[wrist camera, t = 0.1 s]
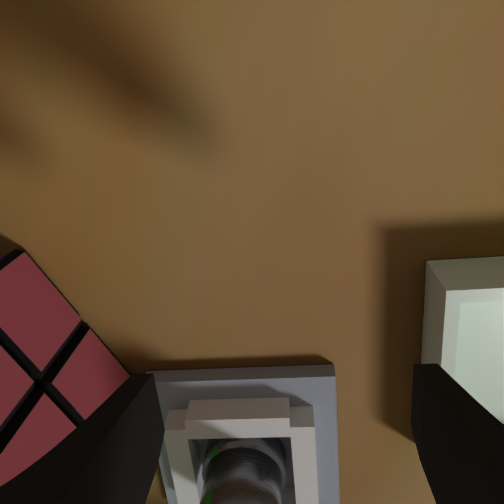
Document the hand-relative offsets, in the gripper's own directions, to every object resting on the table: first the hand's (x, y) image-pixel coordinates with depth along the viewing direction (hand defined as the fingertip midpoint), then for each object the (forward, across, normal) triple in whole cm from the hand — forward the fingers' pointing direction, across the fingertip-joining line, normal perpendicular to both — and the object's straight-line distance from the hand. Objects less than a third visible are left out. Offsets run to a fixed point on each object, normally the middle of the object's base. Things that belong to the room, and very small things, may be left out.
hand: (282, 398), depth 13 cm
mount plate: (+10, +3, +11) cm, 15 cm away
